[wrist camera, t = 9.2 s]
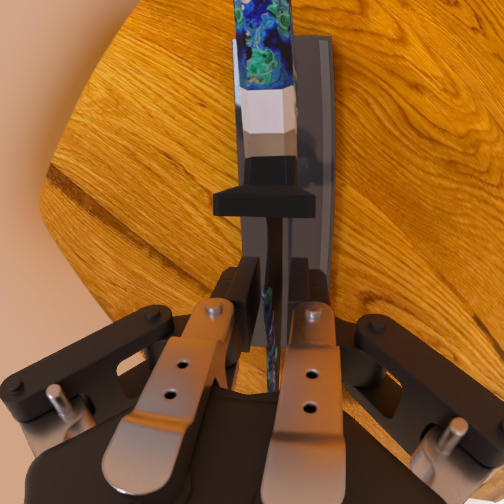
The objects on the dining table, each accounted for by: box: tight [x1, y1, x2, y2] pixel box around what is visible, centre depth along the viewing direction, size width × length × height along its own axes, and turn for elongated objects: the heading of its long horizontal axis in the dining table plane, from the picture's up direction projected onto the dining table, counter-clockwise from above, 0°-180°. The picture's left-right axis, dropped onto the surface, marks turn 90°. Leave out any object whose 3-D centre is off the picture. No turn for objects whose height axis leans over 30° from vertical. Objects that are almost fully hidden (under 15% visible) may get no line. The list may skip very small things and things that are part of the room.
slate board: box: [232, 35, 336, 348], centre depth 24 cm, size 7×26×2 cm, turn 2°
